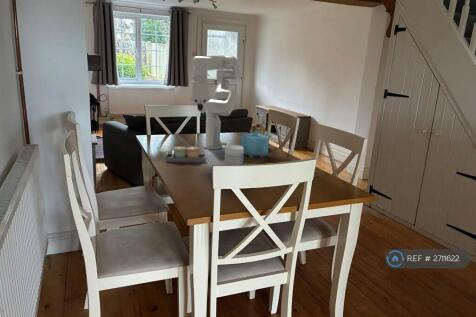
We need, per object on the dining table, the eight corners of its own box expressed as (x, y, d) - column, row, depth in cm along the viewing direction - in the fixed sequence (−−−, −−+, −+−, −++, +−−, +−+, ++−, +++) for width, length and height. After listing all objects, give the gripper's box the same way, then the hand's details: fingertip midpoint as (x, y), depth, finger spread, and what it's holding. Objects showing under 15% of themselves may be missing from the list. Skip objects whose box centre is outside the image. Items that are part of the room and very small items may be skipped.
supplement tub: (244, 177, 180) (246, 149, 176) (226, 177, 178) (227, 149, 174) (240, 171, 189) (241, 144, 185) (222, 172, 187) (223, 144, 183)
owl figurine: (243, 143, 254) (244, 120, 249) (257, 143, 258) (259, 119, 254) (254, 149, 238) (255, 124, 233) (269, 148, 243) (271, 124, 238)
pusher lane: (204, 158, 209) (204, 151, 208) (205, 163, 200) (205, 155, 199) (166, 158, 206) (166, 150, 205) (166, 162, 197) (165, 155, 196)
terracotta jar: (198, 158, 208) (198, 146, 206) (199, 161, 201) (199, 149, 199) (186, 158, 206) (186, 146, 204) (186, 161, 200) (186, 149, 198)
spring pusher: (173, 157, 205) (173, 150, 204) (173, 161, 199) (173, 153, 197) (172, 157, 205) (172, 150, 204) (172, 161, 198) (172, 153, 197)
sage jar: (186, 158, 206) (186, 146, 205) (186, 161, 200) (186, 149, 198) (173, 158, 205) (173, 146, 203) (173, 161, 198) (173, 149, 197)
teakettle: (245, 150, 235) (246, 128, 231) (272, 154, 228) (274, 131, 224) (235, 156, 218) (236, 133, 214) (264, 161, 211) (265, 137, 207)
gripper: (187, 79, 200) (187, 111, 205) (214, 80, 202) (213, 112, 207) (187, 78, 207) (187, 109, 212) (213, 79, 209) (212, 110, 214)
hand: (199, 110), depth 210 cm, fingers closed
